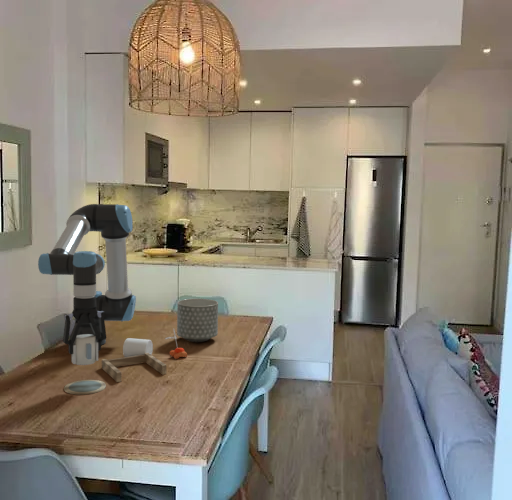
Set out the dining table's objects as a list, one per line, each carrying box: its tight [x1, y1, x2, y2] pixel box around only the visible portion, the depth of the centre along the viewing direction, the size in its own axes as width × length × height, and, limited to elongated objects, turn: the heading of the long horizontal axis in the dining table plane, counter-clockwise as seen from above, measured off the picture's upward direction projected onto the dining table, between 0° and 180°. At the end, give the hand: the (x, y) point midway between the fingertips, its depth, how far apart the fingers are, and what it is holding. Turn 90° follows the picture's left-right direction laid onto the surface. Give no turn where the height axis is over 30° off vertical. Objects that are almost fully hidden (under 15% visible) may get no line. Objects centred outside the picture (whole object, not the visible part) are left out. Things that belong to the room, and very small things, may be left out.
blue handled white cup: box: [74, 334, 97, 366], centre depth 186 cm, size 7×9×9 cm
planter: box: [176, 298, 219, 343], centre depth 254 cm, size 19×19×18 cm
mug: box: [122, 337, 154, 357], centre depth 226 cm, size 12×10×8 cm
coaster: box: [63, 379, 107, 396], centre depth 188 cm, size 14×14×1 cm
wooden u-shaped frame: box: [101, 353, 167, 383], centre depth 207 cm, size 18×19×4 cm
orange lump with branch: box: [164, 328, 188, 360], centre depth 226 cm, size 6×10×12 cm, turn 88°
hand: (85, 361), depth 187 cm, fingers closed on blue handled white cup, 7 cm apart
